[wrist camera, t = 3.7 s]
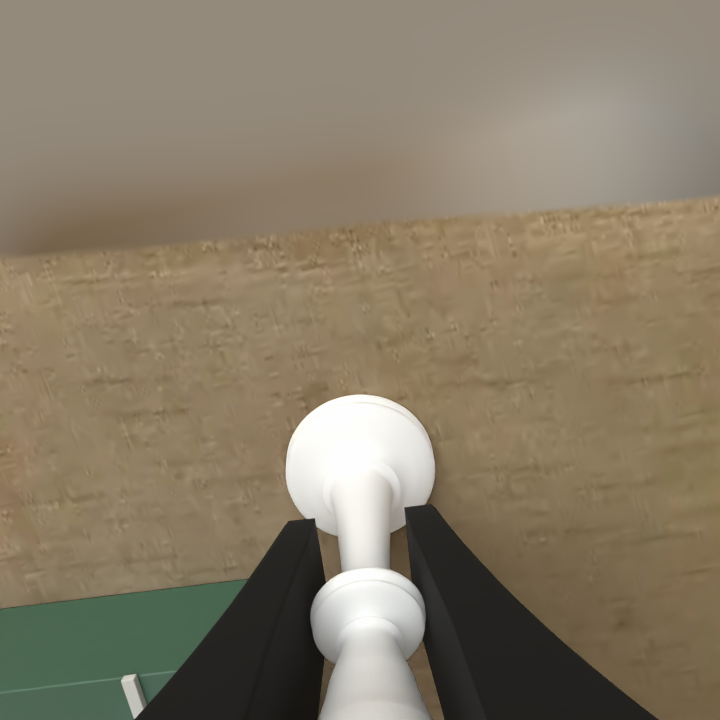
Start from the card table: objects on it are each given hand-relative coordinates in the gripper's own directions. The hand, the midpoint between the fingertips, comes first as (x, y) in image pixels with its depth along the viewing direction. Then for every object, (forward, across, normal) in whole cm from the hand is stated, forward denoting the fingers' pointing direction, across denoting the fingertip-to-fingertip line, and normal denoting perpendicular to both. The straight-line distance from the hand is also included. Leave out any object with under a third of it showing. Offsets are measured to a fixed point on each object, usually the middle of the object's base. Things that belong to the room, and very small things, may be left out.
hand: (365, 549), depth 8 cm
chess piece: (+4, 0, 0) cm, 4 cm away
